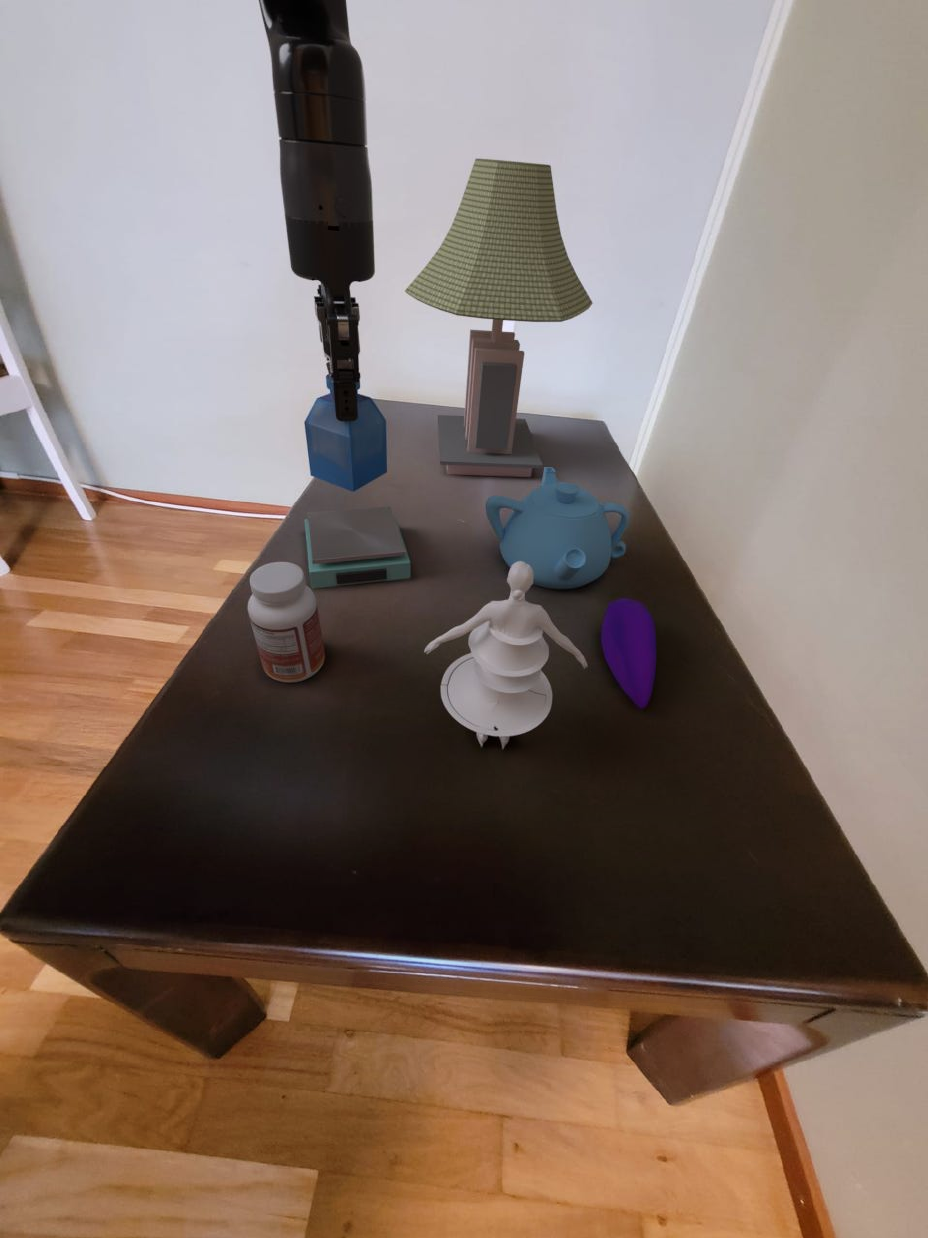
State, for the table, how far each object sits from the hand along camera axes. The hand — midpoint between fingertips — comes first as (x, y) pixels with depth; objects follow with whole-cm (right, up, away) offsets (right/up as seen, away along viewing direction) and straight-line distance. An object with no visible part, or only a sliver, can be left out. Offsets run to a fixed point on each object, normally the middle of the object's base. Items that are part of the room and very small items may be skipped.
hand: (344, 407), depth 58 cm
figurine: (+16, -34, -7) cm, 38 cm away
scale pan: (-1, -12, +11) cm, 16 cm away
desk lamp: (+17, +7, +39) cm, 43 cm away
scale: (-1, -14, +13) cm, 19 cm away
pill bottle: (-5, -27, -2) cm, 28 cm away
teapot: (+24, -15, +14) cm, 32 cm away
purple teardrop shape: (+30, -28, +1) cm, 41 cm away
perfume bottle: (-1, -6, +5) cm, 8 cm away
